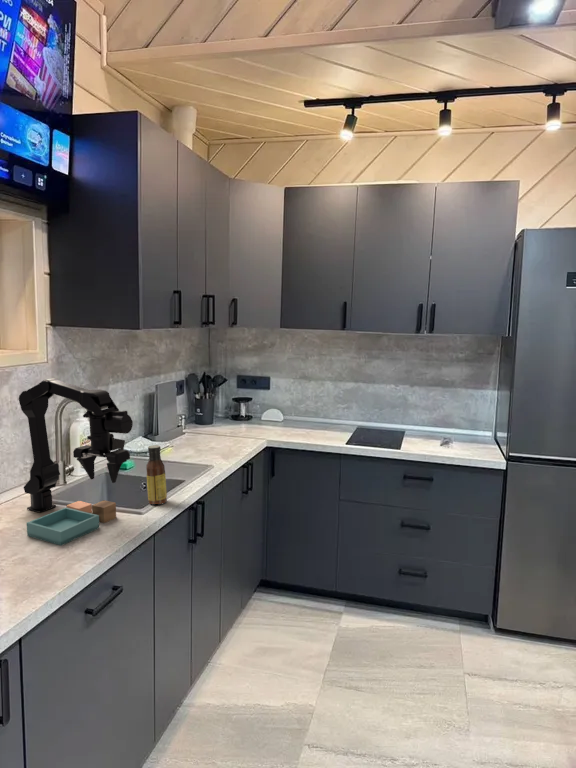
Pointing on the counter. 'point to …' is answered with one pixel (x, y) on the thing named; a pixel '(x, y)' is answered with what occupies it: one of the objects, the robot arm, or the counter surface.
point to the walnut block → (104, 510)
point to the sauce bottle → (156, 477)
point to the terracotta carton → (81, 506)
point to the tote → (62, 526)
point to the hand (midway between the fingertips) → (103, 480)
